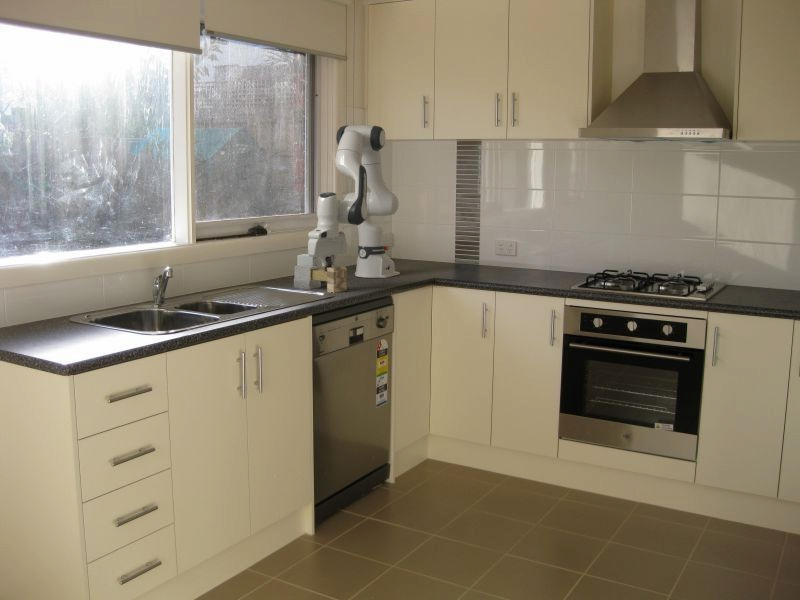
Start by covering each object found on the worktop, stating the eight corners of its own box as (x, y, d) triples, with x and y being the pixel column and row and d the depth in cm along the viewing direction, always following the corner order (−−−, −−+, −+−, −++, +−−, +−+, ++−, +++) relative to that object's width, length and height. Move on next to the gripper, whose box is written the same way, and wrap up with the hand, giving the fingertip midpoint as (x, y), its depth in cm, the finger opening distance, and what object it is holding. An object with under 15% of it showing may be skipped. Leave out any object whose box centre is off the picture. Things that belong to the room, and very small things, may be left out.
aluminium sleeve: (305, 285, 374) (305, 264, 372) (320, 287, 368) (320, 266, 367) (294, 287, 368) (293, 266, 367) (309, 289, 363) (309, 267, 362)
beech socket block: (340, 289, 362) (340, 265, 361) (346, 290, 360) (346, 266, 359) (327, 291, 356) (327, 267, 355) (333, 292, 354) (333, 268, 353)
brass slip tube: (314, 278, 368) (313, 254, 367) (341, 281, 359) (341, 257, 357) (307, 278, 365) (307, 255, 363) (334, 282, 356) (334, 258, 354)
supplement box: (313, 284, 376) (313, 255, 374) (296, 284, 378) (296, 255, 376) (318, 282, 383) (318, 254, 381) (302, 281, 385) (301, 253, 383)
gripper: (339, 230, 367) (339, 263, 370) (305, 233, 351) (305, 267, 354) (350, 231, 364) (350, 264, 366) (316, 234, 348) (316, 268, 350)
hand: (328, 265), depth 360 cm, fingers closed on brass slip tube, 3 cm apart
